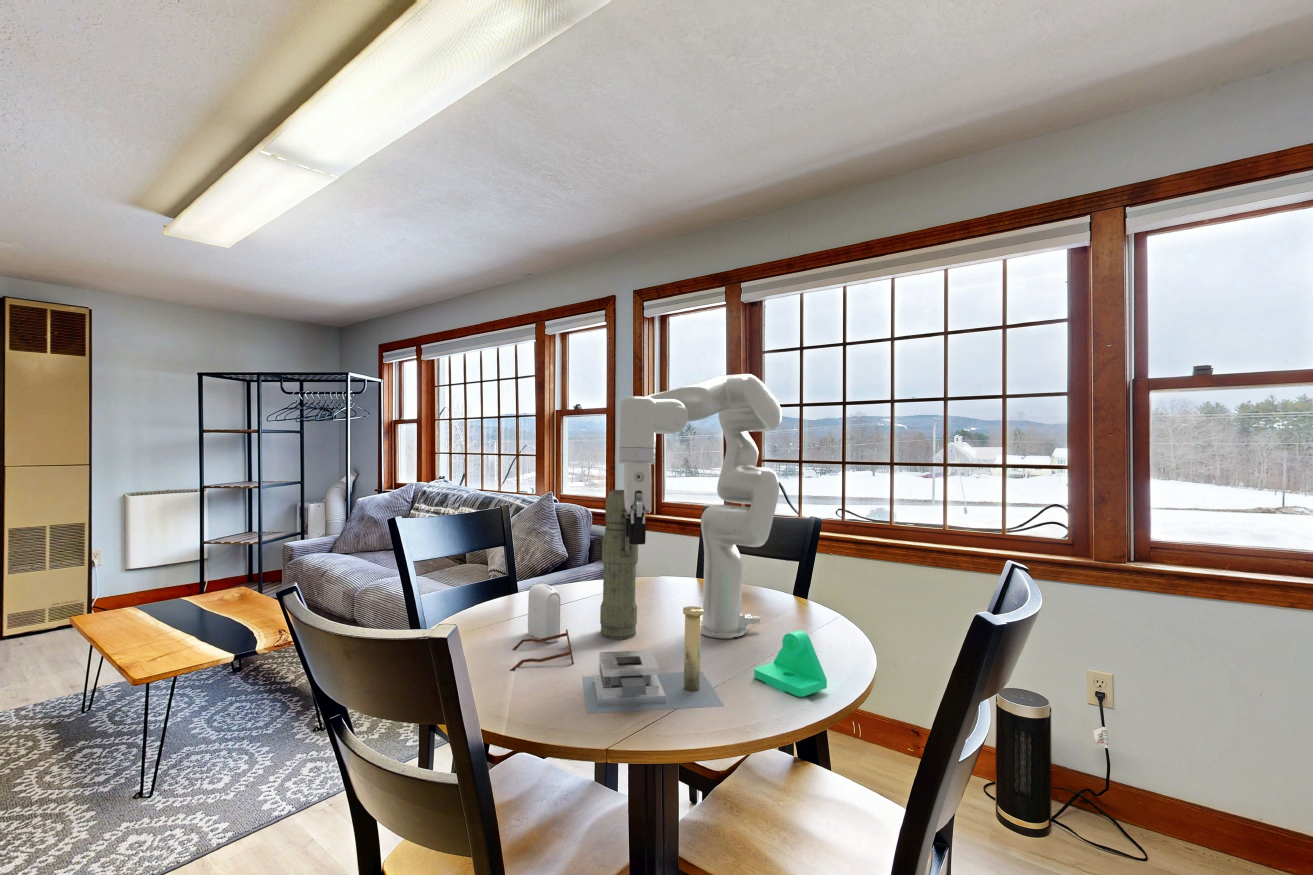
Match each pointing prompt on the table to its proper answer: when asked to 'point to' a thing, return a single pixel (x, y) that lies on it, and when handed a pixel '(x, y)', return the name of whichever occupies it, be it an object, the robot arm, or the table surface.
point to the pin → (692, 648)
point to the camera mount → (794, 667)
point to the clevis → (628, 679)
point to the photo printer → (543, 612)
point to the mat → (672, 690)
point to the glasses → (545, 657)
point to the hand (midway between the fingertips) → (634, 540)
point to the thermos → (618, 573)
